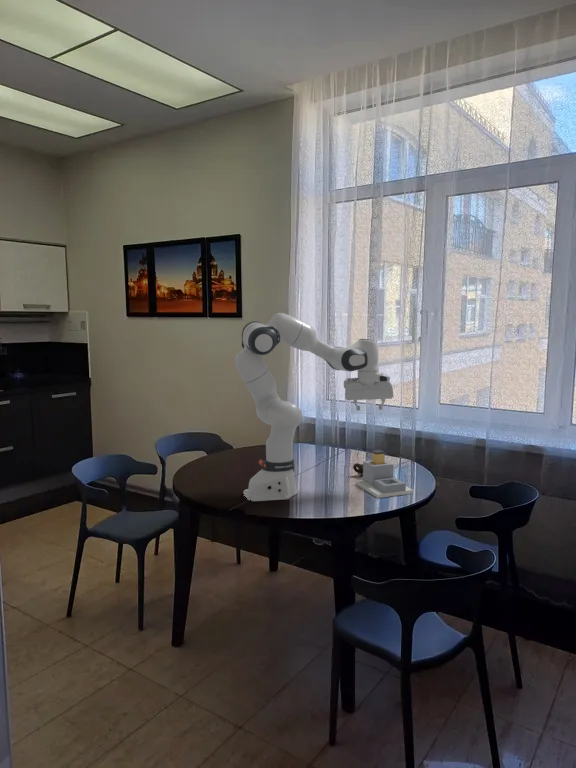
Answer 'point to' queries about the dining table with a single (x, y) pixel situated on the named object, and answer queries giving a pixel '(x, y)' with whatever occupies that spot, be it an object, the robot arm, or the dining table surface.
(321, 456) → the dining table surface
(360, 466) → the pottery mug
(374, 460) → the plug
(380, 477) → the square socket stand
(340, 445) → the dining table surface
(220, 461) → the dining table surface
